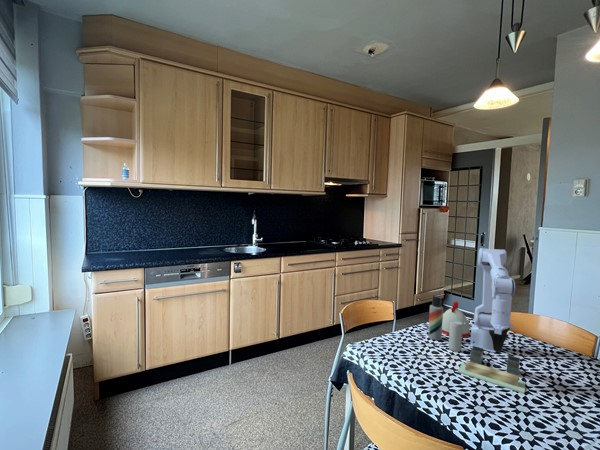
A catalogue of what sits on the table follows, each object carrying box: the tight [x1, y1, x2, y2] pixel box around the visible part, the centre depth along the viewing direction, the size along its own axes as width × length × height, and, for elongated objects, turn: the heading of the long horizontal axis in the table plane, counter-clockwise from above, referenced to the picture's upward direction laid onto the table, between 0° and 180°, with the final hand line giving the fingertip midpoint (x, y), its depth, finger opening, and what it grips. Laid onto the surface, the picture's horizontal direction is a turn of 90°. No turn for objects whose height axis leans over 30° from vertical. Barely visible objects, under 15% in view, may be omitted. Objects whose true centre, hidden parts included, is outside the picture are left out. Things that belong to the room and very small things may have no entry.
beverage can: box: [448, 321, 463, 353], centre depth 132 cm, size 5×5×12 cm
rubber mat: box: [457, 362, 526, 394], centre depth 111 cm, size 20×8×1 cm, turn 52°
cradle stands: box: [469, 346, 521, 376], centre depth 118 cm, size 16×5×5 cm, turn 52°
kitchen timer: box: [442, 300, 471, 338], centre depth 152 cm, size 14×14×15 cm
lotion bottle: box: [427, 295, 444, 341], centre depth 144 cm, size 6×6×20 cm
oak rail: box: [465, 360, 520, 387], centre depth 111 cm, size 16×3×2 cm, turn 52°
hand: (498, 347), depth 112 cm, fingers open, 7 cm apart
